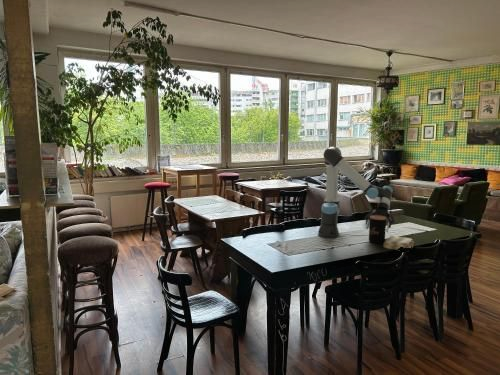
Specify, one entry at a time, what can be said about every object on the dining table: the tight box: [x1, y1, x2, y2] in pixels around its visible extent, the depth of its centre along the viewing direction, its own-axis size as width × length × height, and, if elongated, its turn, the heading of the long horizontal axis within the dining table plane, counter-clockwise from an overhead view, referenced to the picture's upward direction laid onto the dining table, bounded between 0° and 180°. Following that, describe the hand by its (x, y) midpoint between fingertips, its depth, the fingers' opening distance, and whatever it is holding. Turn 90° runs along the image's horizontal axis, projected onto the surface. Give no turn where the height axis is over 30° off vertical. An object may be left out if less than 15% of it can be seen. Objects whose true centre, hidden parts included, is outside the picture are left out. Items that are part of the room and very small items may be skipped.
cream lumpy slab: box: [383, 235, 415, 251], centre depth 246 cm, size 16×16×5 cm
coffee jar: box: [368, 214, 387, 245], centre depth 254 cm, size 11×11×18 cm
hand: (376, 229), depth 253 cm, fingers open, 13 cm apart
